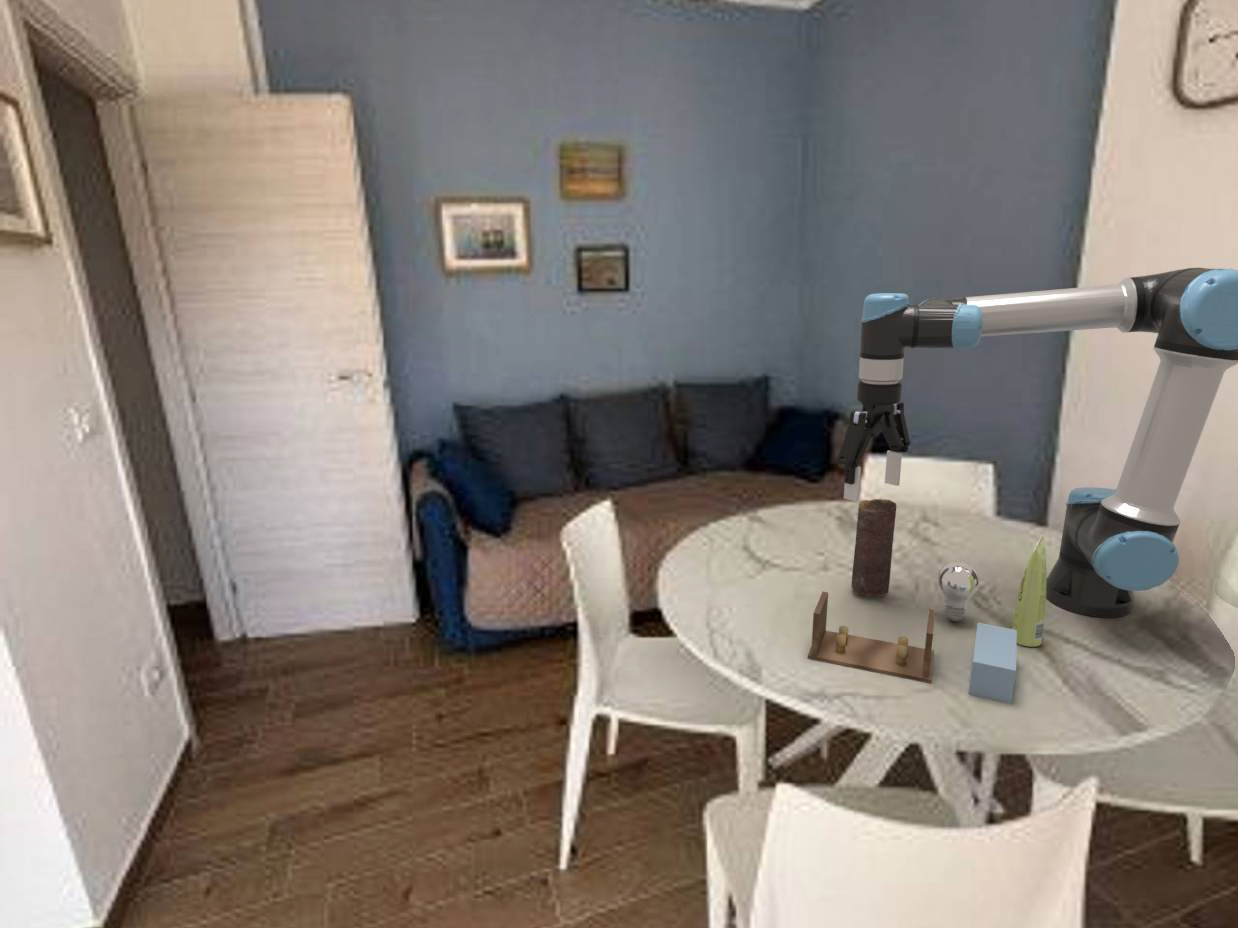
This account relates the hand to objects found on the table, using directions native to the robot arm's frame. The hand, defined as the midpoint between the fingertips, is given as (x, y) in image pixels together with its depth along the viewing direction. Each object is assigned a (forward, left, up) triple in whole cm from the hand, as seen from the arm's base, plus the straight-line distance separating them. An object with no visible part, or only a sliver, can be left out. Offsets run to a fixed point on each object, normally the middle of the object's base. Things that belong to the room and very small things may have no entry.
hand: (872, 491), depth 139 cm
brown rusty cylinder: (0, -7, -24) cm, 25 cm away
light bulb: (-16, -1, -24) cm, 29 cm away
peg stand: (-3, +18, -24) cm, 31 cm away
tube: (-28, +2, -24) cm, 38 cm away
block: (-22, +17, -25) cm, 37 cm away
